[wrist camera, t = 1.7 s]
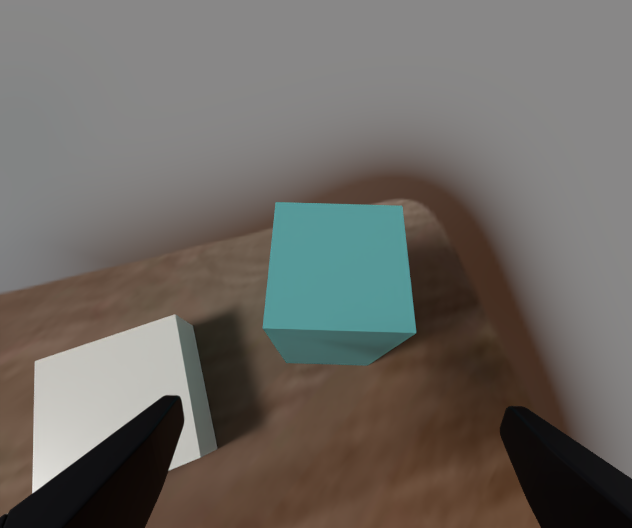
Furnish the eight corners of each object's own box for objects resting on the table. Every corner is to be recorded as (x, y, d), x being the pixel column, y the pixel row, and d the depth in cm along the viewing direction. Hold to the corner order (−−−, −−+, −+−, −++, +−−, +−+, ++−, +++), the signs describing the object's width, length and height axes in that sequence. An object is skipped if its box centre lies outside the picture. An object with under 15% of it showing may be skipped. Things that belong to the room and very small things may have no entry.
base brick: (217, 449, 18) (200, 457, 15) (77, 507, 17) (31, 527, 14) (192, 325, 21) (175, 314, 18) (72, 366, 20) (34, 361, 17)
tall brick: (367, 365, 20) (416, 333, 11) (286, 362, 20) (262, 328, 11) (364, 288, 23) (402, 205, 13) (291, 286, 23) (275, 202, 13)
